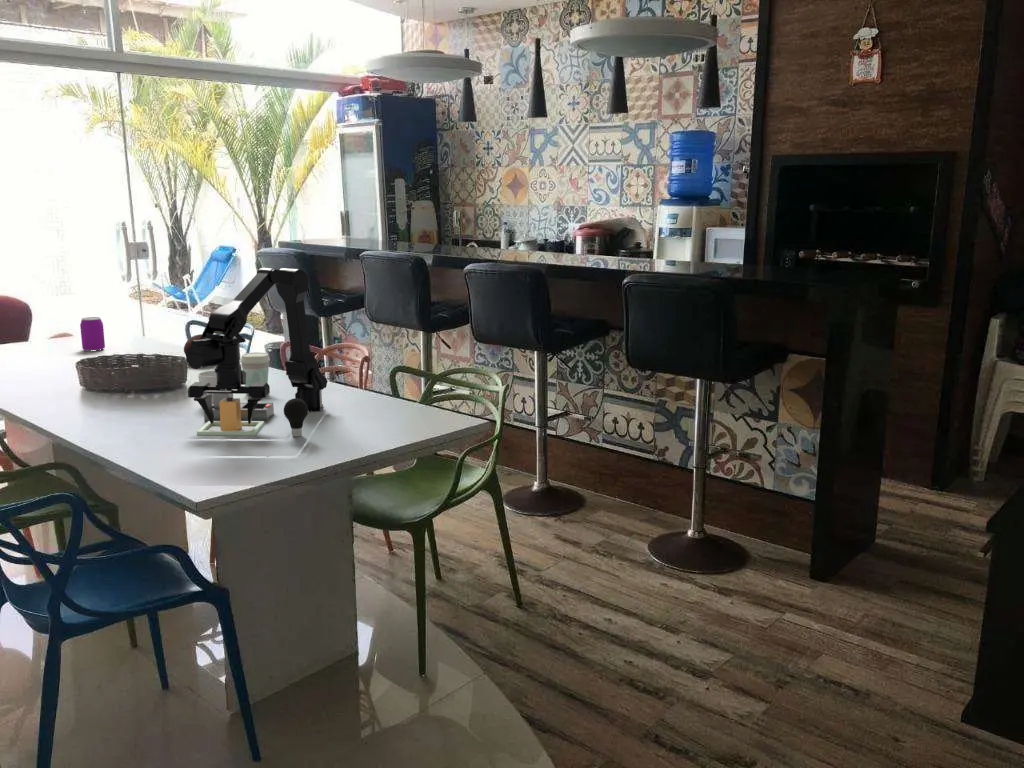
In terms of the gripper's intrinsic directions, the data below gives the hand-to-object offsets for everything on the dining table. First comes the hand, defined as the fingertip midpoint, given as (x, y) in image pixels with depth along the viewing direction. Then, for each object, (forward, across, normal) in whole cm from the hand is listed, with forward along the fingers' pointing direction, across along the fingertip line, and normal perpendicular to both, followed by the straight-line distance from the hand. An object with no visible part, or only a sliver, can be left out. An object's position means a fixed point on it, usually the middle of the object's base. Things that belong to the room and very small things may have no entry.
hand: (231, 423), depth 214 cm
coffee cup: (+3, +4, -43) cm, 43 cm away
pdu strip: (+2, +1, -12) cm, 12 cm away
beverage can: (+3, +81, -113) cm, 139 cm away
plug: (+2, 0, 0) cm, 2 cm away
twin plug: (+2, +5, -12) cm, 13 cm away
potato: (+3, +34, -89) cm, 95 cm away
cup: (+3, +11, -25) cm, 27 cm away
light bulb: (+3, -17, +4) cm, 18 cm away
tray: (+2, 0, 0) cm, 2 cm away
